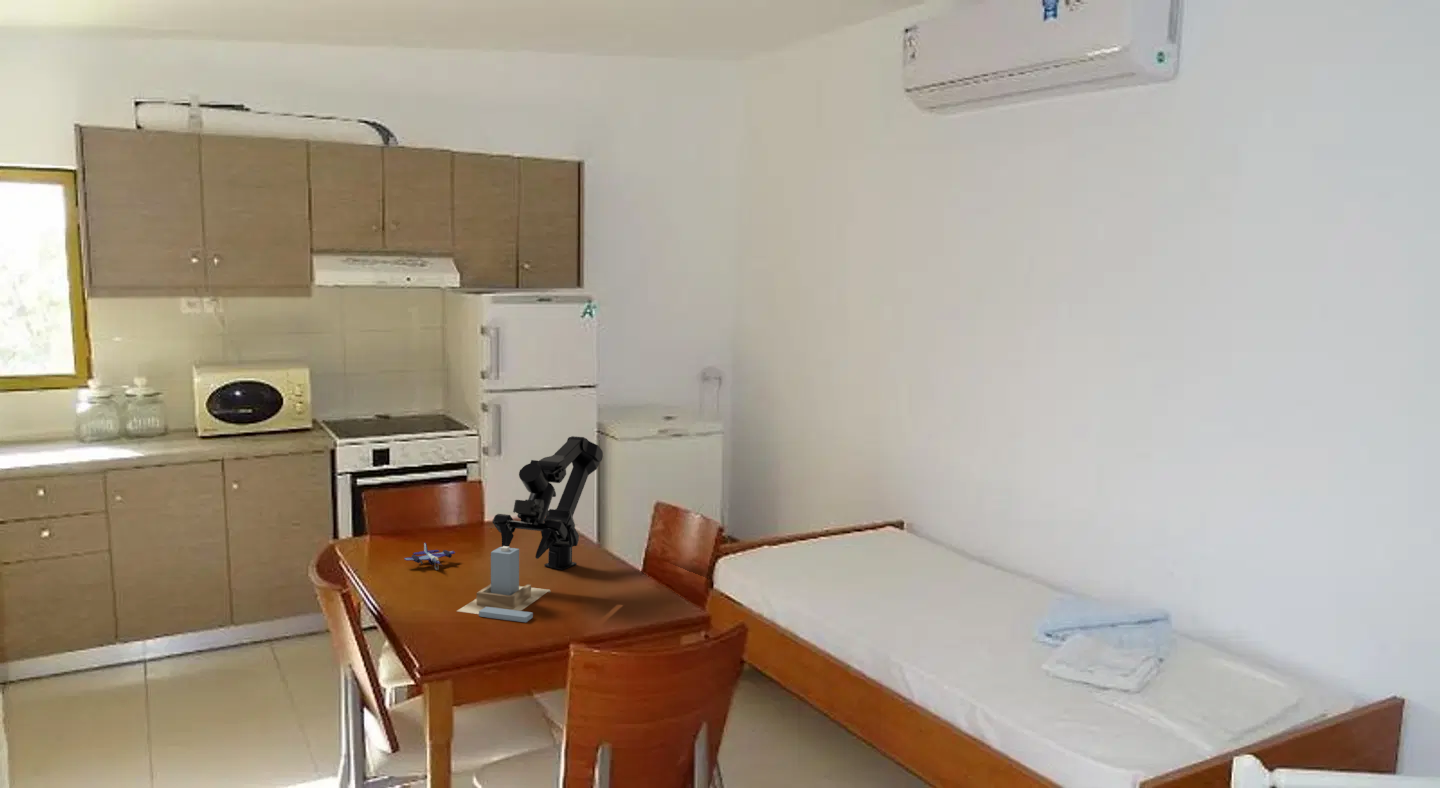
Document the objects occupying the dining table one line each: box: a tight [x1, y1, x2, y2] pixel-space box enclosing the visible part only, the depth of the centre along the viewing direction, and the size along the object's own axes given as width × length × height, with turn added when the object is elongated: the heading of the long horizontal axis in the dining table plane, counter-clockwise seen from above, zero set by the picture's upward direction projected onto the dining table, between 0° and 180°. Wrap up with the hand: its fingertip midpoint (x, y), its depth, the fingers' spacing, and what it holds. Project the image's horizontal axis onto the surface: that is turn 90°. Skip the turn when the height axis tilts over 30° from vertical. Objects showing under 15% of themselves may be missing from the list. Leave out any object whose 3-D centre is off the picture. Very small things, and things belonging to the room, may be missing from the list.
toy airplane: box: [404, 542, 456, 571], centre depth 280 cm, size 13×14×4 cm
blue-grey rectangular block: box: [490, 546, 520, 596], centre depth 251 cm, size 5×5×13 cm
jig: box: [456, 583, 551, 615], centre depth 252 cm, size 22×14×4 cm, turn 165°
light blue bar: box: [478, 607, 534, 623], centre depth 240 cm, size 12×4×1 cm, turn 75°
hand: (519, 556), depth 259 cm, fingers open, 9 cm apart
